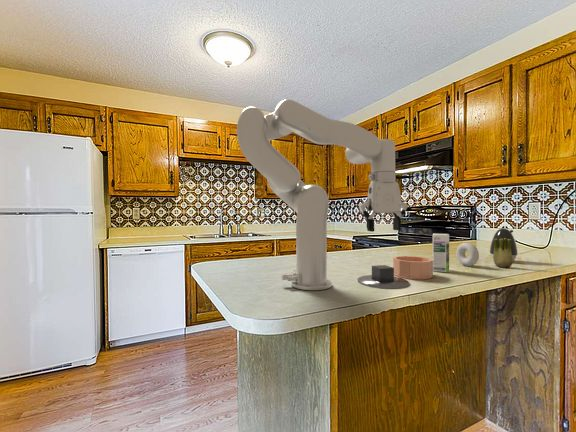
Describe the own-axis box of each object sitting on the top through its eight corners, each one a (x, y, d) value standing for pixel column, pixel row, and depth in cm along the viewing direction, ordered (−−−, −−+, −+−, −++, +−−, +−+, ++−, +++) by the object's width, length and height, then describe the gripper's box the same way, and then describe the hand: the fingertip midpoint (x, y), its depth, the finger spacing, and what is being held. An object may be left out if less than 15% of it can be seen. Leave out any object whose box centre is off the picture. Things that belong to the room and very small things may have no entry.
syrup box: (432, 271, 111) (432, 234, 111) (432, 268, 116) (432, 232, 116) (449, 272, 108) (449, 234, 108) (448, 270, 114) (448, 233, 113)
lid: (374, 291, 85) (374, 273, 85) (349, 279, 100) (349, 263, 100) (420, 288, 89) (420, 270, 89) (389, 276, 104) (389, 261, 104)
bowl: (408, 280, 96) (408, 262, 96) (386, 272, 109) (386, 256, 109) (440, 278, 100) (440, 261, 100) (415, 270, 112) (415, 255, 112)
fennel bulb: (492, 266, 120) (492, 238, 120) (497, 265, 123) (498, 237, 122) (508, 269, 115) (508, 239, 115) (514, 267, 118) (514, 238, 117)
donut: (481, 268, 117) (481, 243, 117) (474, 268, 116) (474, 243, 116) (460, 263, 127) (460, 241, 127) (454, 264, 126) (454, 241, 126)
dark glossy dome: (523, 262, 129) (523, 228, 129) (505, 263, 127) (505, 229, 127) (501, 259, 139) (502, 227, 139) (484, 259, 137) (484, 228, 136)
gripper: (365, 176, 88) (366, 232, 89) (413, 177, 93) (414, 230, 93) (353, 179, 96) (354, 231, 96) (399, 179, 100) (399, 229, 100)
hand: (383, 230), depth 94 cm, fingers open, 9 cm apart
